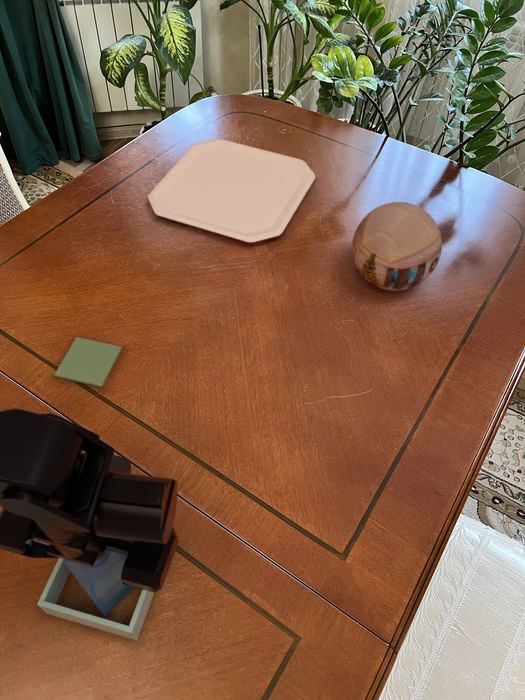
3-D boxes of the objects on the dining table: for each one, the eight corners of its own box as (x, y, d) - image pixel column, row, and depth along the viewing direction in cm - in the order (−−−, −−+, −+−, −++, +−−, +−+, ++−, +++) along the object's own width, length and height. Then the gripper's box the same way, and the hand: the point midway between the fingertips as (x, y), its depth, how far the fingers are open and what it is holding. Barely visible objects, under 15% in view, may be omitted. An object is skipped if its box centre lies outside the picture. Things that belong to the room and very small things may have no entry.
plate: (137, 216, 114) (135, 207, 112) (202, 141, 130) (201, 132, 128) (272, 257, 107) (272, 248, 106) (322, 172, 124) (323, 163, 122)
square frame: (46, 613, 68) (36, 604, 65) (88, 522, 75) (81, 510, 72) (137, 640, 67) (131, 633, 64) (171, 544, 74) (168, 533, 71)
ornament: (355, 310, 99) (369, 245, 87) (340, 252, 108) (351, 185, 97) (439, 306, 100) (464, 240, 89) (417, 248, 110) (437, 181, 98)
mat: (54, 376, 90) (53, 374, 89) (77, 338, 94) (76, 336, 94) (101, 387, 88) (101, 386, 88) (122, 348, 93) (121, 346, 93)
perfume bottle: (117, 542, 74) (97, 505, 64) (146, 578, 71) (130, 545, 62) (76, 577, 71) (49, 543, 62) (105, 615, 68) (81, 586, 59)
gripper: (189, 459, 58) (199, 518, 70) (21, 418, 60) (60, 481, 73) (148, 568, 51) (167, 612, 64) (-38, 516, 54) (15, 568, 66)
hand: (101, 563), depth 67 cm, fingers open, 9 cm apart
